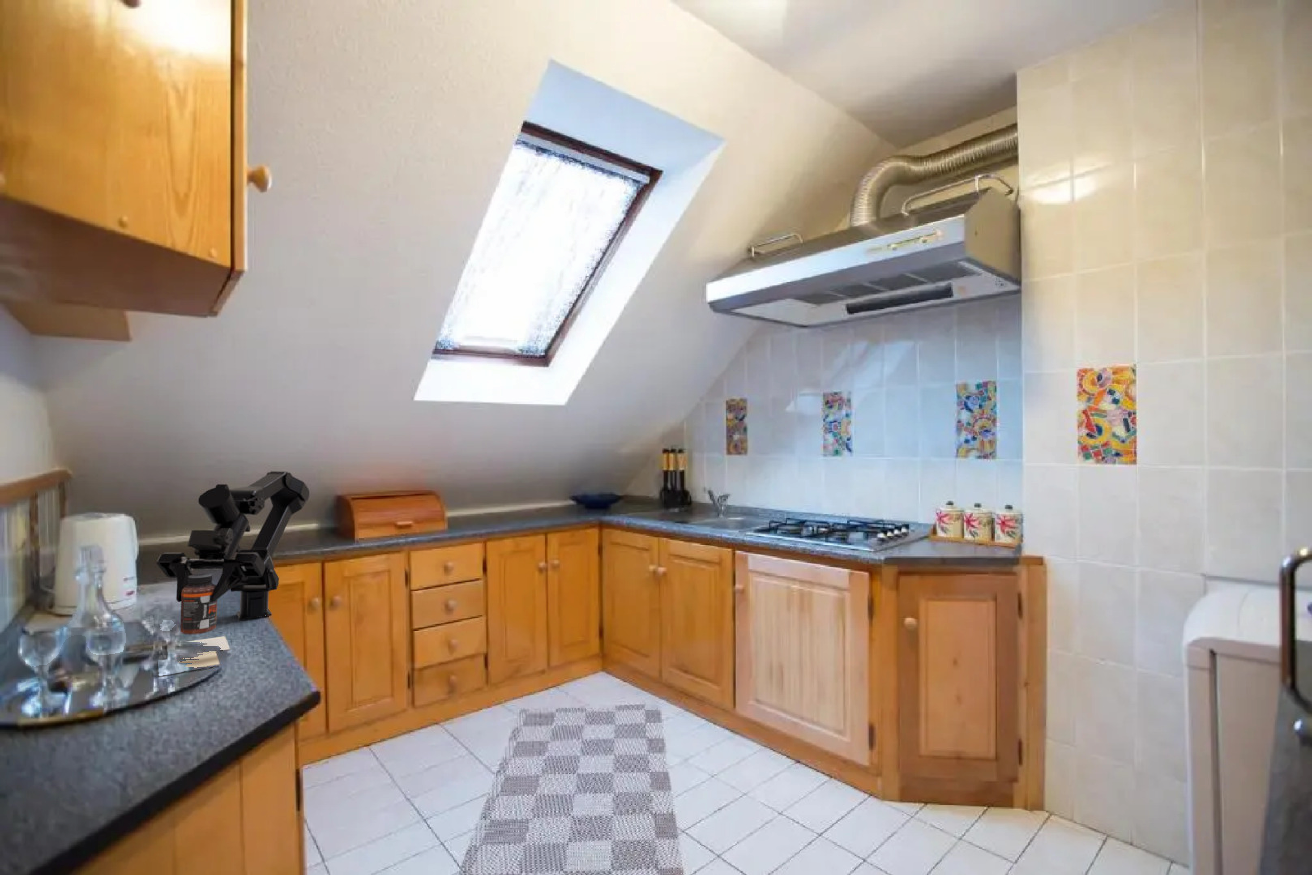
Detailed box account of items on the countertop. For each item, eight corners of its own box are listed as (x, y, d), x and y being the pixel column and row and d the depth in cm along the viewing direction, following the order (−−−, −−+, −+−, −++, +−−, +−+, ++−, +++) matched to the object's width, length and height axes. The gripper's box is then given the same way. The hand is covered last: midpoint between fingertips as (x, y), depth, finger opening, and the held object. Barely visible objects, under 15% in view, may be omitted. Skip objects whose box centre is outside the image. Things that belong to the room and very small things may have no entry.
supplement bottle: (214, 633, 127) (216, 576, 127) (177, 637, 124) (179, 579, 124) (217, 625, 132) (219, 571, 132) (182, 628, 129) (184, 573, 129)
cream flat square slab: (165, 645, 129) (165, 644, 129) (225, 636, 135) (225, 635, 135) (167, 659, 121) (167, 658, 121) (230, 649, 127) (230, 648, 127)
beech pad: (157, 662, 119) (157, 659, 119) (215, 653, 125) (215, 650, 125) (158, 676, 112) (158, 673, 112) (219, 666, 118) (219, 663, 118)
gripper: (163, 513, 131) (124, 579, 120) (260, 514, 133) (231, 578, 122) (185, 545, 138) (150, 609, 127) (276, 545, 141) (250, 608, 130)
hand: (195, 600), depth 127 cm, fingers closed on supplement bottle, 6 cm apart
